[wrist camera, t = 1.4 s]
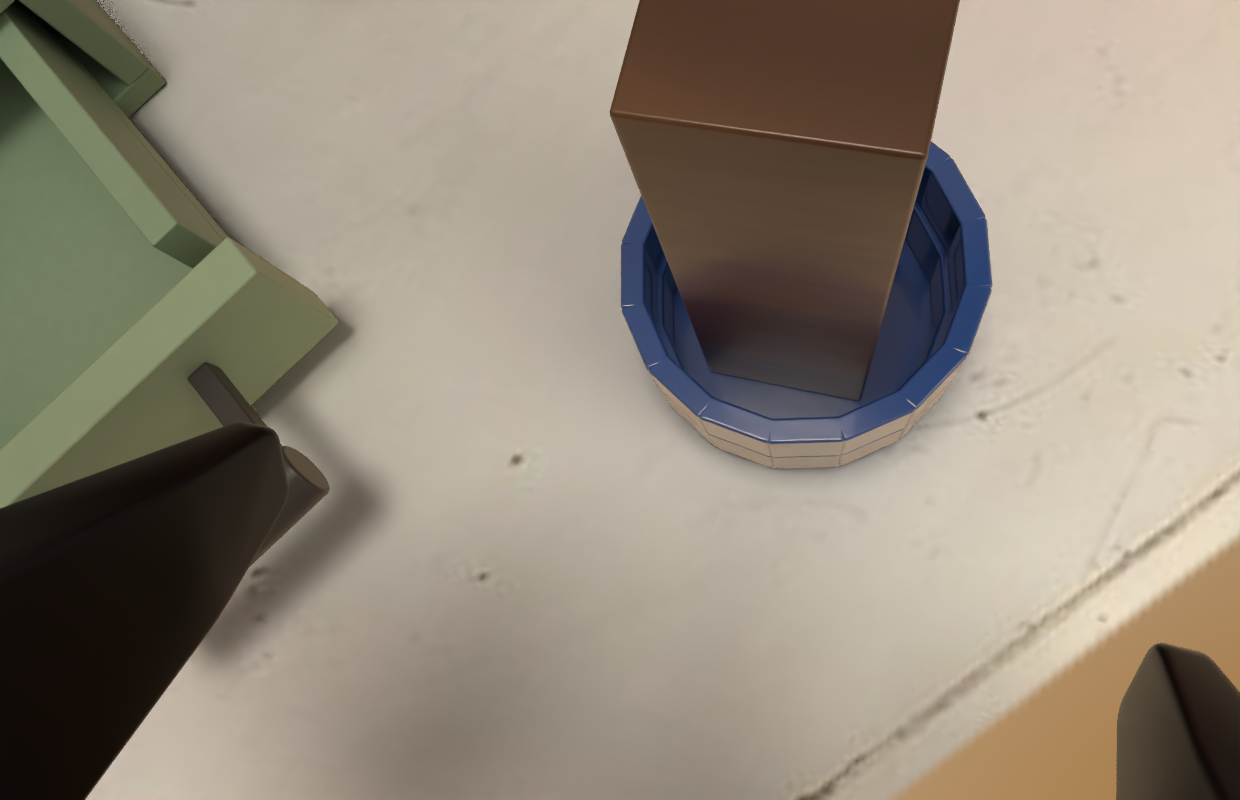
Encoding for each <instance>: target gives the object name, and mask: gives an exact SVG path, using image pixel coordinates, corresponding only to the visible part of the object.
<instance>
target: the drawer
mask: <svg viewBox="0 0 1240 800" xmlns="http://www.w3.org/2000/svg"><path fill="white" fill-rule="evenodd" d="M337 324H338V319H337V318H336V317H335V316H334V315H333V314H332V312H331V311H330V310H329V309H328V308H327V307H326V306H325V304H324V303H323V302H322V301H321V300H320V299H319V297H318V296H317V295H316V294H315V293H314V292H313V291H311V290H310V289H308V288H307V287H305V286H304V285H302V284H301V283H299V282H298V281H296V280H294V279H293V278H291V277H290V276H288V275H287V274H285V273H284V272H282V271H281V270H279V269H278V268H276V267H274V266H273V265H271V264H270V263H268V262H267V261H265V260H264V259H262V258H261V257H259V256H257V255H256V254H254V253H253V252H251V251H250V250H248V249H247V248H245V247H244V246H242V245H241V244H239V243H237V242H236V241H234V240H233V239H231V238H229V237H228V236H227V235H226V234H225V232H224V231H223V230H222V229H221V228H220V226H219V225H218V224H217V223H216V222H215V220H214V219H213V218H212V217H211V216H210V215H209V213H208V212H207V211H206V210H205V209H204V207H203V206H202V205H201V204H200V203H199V202H198V200H197V199H196V198H195V197H194V196H193V194H192V193H191V192H190V191H189V190H188V189H187V187H186V186H185V185H184V184H183V183H182V181H181V180H180V179H179V178H178V177H177V175H176V174H175V173H174V172H173V171H172V170H171V168H170V167H169V166H168V165H167V164H166V162H165V161H164V160H163V159H162V158H161V157H160V155H159V154H158V153H157V152H156V151H155V149H154V148H153V147H152V146H151V145H150V144H149V142H148V141H147V140H146V139H145V138H144V136H143V135H142V134H141V133H140V132H139V130H138V129H137V128H136V127H135V126H134V125H133V123H132V122H131V121H130V120H129V119H128V117H127V116H126V115H125V114H124V113H123V112H122V110H121V109H120V108H119V107H118V106H117V104H116V103H115V102H114V101H113V100H112V98H111V97H110V96H109V95H108V94H107V93H106V91H105V90H104V89H103V88H102V87H101V85H100V84H99V83H98V82H97V81H96V80H95V78H94V77H93V76H92V75H91V74H90V72H89V71H88V70H87V69H86V68H85V67H84V65H83V64H82V63H81V62H80V61H79V59H78V58H77V57H76V56H75V55H74V53H73V52H72V51H71V50H70V49H69V48H68V46H67V45H66V44H65V43H64V42H63V40H62V39H61V38H60V37H59V36H58V35H57V33H56V32H55V31H54V30H53V29H52V27H51V26H50V25H49V24H48V23H47V22H45V21H44V20H43V19H42V18H40V17H39V16H38V15H36V14H35V13H34V12H33V11H31V10H30V9H29V8H27V7H26V6H25V5H23V4H22V3H21V2H20V1H18V0H15V1H14V2H13V3H12V4H10V5H9V6H8V7H7V8H6V9H5V10H4V11H3V12H2V13H1V14H0V508H3V507H5V506H8V505H11V504H13V503H16V502H19V501H22V500H24V499H27V498H30V497H33V496H35V495H38V494H41V493H43V492H46V491H49V490H52V489H54V488H57V487H60V486H63V485H65V484H68V483H71V482H73V481H76V480H79V479H82V478H84V477H87V476H90V475H93V474H95V473H98V472H101V471H104V470H106V469H109V468H112V467H114V466H117V465H120V464H123V463H125V462H128V461H131V460H134V459H136V458H139V457H142V456H144V455H147V454H150V453H153V452H155V451H158V450H161V449H164V448H166V447H169V446H172V445H174V444H177V443H180V442H183V441H185V440H188V439H191V438H194V437H196V436H199V435H202V434H204V433H207V432H210V431H213V430H215V429H218V428H221V427H224V426H226V425H229V424H232V423H235V422H249V423H253V424H257V425H261V426H265V427H267V426H266V425H265V423H264V422H263V421H262V420H261V418H260V417H259V416H258V415H257V413H256V412H255V411H254V410H253V408H252V407H251V405H252V404H253V403H254V402H255V401H256V400H257V399H258V398H260V397H261V396H262V395H263V394H264V393H265V392H266V391H267V390H268V389H269V388H270V387H271V386H272V385H273V384H274V383H275V382H277V381H278V380H279V379H280V378H281V377H282V376H283V375H284V374H285V373H286V372H287V371H288V370H289V369H290V368H291V367H292V366H294V365H295V364H296V363H297V362H298V361H299V360H300V359H301V358H302V357H303V356H304V355H305V354H306V353H307V352H308V351H309V350H311V349H312V348H313V347H314V346H315V345H316V344H317V343H318V342H319V341H320V340H321V339H322V338H323V337H324V336H325V335H326V334H328V333H329V332H330V331H331V330H332V329H333V328H334V327H335V326H336V325H337ZM280 445H281V444H280ZM281 450H282V454H283V459H284V464H285V469H286V474H287V479H288V485H289V490H288V497H287V501H286V504H285V506H284V508H283V510H282V512H281V513H280V515H279V517H278V518H277V520H276V522H275V524H274V525H273V527H272V529H271V530H270V532H269V534H268V535H267V537H266V539H265V541H264V542H263V544H262V546H261V547H260V549H259V551H258V552H257V554H256V556H255V558H254V559H253V561H252V563H251V564H250V566H251V565H252V564H253V563H254V562H255V561H256V560H257V559H258V558H260V557H261V556H262V555H263V554H264V553H265V552H266V551H267V550H268V549H269V548H270V547H271V546H272V545H273V544H274V543H275V542H276V541H278V540H279V539H280V538H281V537H282V536H283V535H284V534H285V533H286V532H287V531H288V530H289V529H290V528H291V527H292V526H293V525H294V524H296V523H297V522H298V521H299V520H300V519H301V518H302V517H303V516H304V515H305V514H306V513H307V512H308V511H309V510H310V509H311V508H312V507H314V506H315V505H316V504H317V503H318V502H319V501H320V500H321V499H322V498H323V497H324V496H325V495H326V494H327V493H328V491H329V484H328V482H327V480H326V478H325V477H324V475H323V474H322V473H321V471H320V470H319V469H318V468H317V467H316V466H315V465H314V464H313V463H312V462H311V461H310V460H309V459H308V458H307V457H306V456H304V455H303V454H302V453H300V452H299V451H297V450H295V449H293V448H291V447H288V446H282V445H281ZM250 566H249V567H250Z"/></svg>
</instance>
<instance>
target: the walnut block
mask: <svg viewBox="0 0 1240 800" xmlns="http://www.w3.org/2000/svg"><path fill="white" fill-rule="evenodd" d="M959 2H960V0H640V1H639V5H638V9H637V12H636V16H635V20H634V23H633V27H632V31H631V35H630V38H629V42H628V46H627V50H626V53H625V57H624V61H623V64H622V68H621V72H620V76H619V79H618V83H617V87H616V90H615V94H614V98H613V102H612V105H611V109H610V116H611V119H612V121H613V124H614V126H615V129H616V131H617V134H618V136H619V139H620V142H621V144H622V147H623V149H624V152H625V154H626V157H627V159H628V162H629V165H630V167H631V170H632V172H633V175H634V177H635V180H636V183H637V185H638V188H639V190H640V193H641V195H642V198H643V200H644V203H645V206H646V208H647V211H648V213H649V216H650V218H651V221H652V223H653V226H654V229H655V231H656V234H657V236H658V239H659V241H660V244H661V247H662V249H663V252H664V254H665V257H666V259H667V262H668V264H669V267H670V270H671V272H672V275H673V277H674V280H675V282H676V285H677V287H678V290H679V293H680V295H681V298H682V300H683V303H684V305H685V308H686V310H687V313H688V316H689V318H690V321H691V323H692V326H693V328H694V331H695V334H696V336H697V339H698V341H699V344H700V346H701V349H702V351H703V354H704V357H705V359H706V362H707V364H708V367H709V369H710V371H711V372H716V373H721V374H726V375H731V376H736V377H741V378H746V379H751V380H756V381H761V382H766V383H771V384H776V385H781V386H786V387H791V388H796V389H801V390H806V391H811V392H816V393H821V394H826V395H831V396H836V397H841V398H846V399H851V400H856V401H860V400H861V398H862V394H863V390H864V387H865V383H866V379H867V376H868V372H869V368H870V365H871V361H872V358H873V354H874V350H875V347H876V343H877V339H878V336H879V332H880V328H881V325H882V321H883V317H884V314H885V310H886V306H887V303H888V299H889V295H890V292H891V288H892V285H893V281H894V277H895V274H896V270H897V266H898V263H899V259H900V255H901V252H902V248H903V244H904V241H905V237H906V233H907V230H908V226H909V222H910V219H911V215H912V212H913V208H914V204H915V201H916V197H917V193H918V190H919V186H920V182H921V179H922V175H923V171H924V168H925V164H926V160H927V157H928V152H929V147H930V143H931V138H932V133H933V128H934V123H935V118H936V113H937V109H938V104H939V99H940V94H941V89H942V84H943V79H944V75H945V70H946V65H947V60H948V55H949V50H950V45H951V41H952V36H953V31H954V26H955V21H956V16H957V11H958V7H959Z"/></svg>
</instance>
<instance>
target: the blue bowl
mask: <svg viewBox="0 0 1240 800" xmlns="http://www.w3.org/2000/svg"><path fill="white" fill-rule="evenodd" d="M991 288H992V275H991V263H990V252H989V240H988V229H987V220H986V219H985V214H984V213H983V211H982V209H981V207H980V206H979V204H978V202H977V200H976V199H975V197H974V195H973V193H972V192H971V190H970V188H969V186H968V185H967V183H966V181H965V179H964V178H963V176H962V174H961V172H960V171H959V169H958V167H957V165H956V164H955V162H954V160H953V159H952V158H951V157H950V156H949V155H948V154H947V153H946V152H944V151H943V150H942V149H940V148H939V147H938V146H936V145H935V144H934V143H932V142H931V143H930V147H929V152H928V157H927V160H926V164H925V168H924V171H923V175H922V179H921V182H920V186H919V190H918V193H917V197H916V201H915V204H914V208H913V212H912V215H911V219H910V222H909V226H908V230H907V233H906V237H905V241H904V244H903V248H902V252H901V255H900V259H899V263H898V266H897V270H896V274H895V277H894V281H893V285H892V288H891V292H890V295H889V299H888V303H887V306H886V310H885V314H884V317H883V321H882V325H881V328H880V332H879V336H878V339H877V343H876V347H875V350H874V354H873V358H872V361H871V365H870V368H869V372H868V376H867V379H866V383H865V387H864V390H863V394H862V398H861V400H860V401H856V400H851V399H846V398H841V397H836V396H831V395H826V394H821V393H816V392H811V391H806V390H801V389H796V388H791V387H786V386H781V385H776V384H771V383H766V382H761V381H756V380H751V379H746V378H741V377H736V376H731V375H726V374H721V373H716V372H711V371H710V369H709V367H708V364H707V362H706V359H705V357H704V354H703V351H702V349H701V346H700V344H699V341H698V339H697V336H696V334H695V331H694V328H693V326H692V323H691V321H690V318H689V316H688V313H687V310H686V308H685V305H684V303H683V300H682V298H681V295H680V293H679V290H678V287H677V285H676V282H675V280H674V277H673V275H672V272H671V270H670V267H669V264H668V262H667V259H666V257H665V254H664V252H663V249H662V247H661V244H660V241H659V239H658V236H657V234H656V231H655V229H654V226H653V223H652V221H651V218H650V216H649V213H648V211H647V208H646V206H645V203H644V200H643V198H642V195H641V197H640V199H639V202H638V204H637V207H636V209H635V211H634V214H633V216H632V218H631V221H630V223H629V226H628V228H627V230H626V233H625V235H624V237H623V240H622V245H621V308H622V313H623V315H624V318H625V320H626V322H627V324H628V327H629V329H630V331H631V334H632V336H633V338H634V341H635V343H636V345H637V348H638V350H639V352H640V354H641V357H642V359H643V361H644V364H645V366H646V368H647V370H648V371H649V373H650V374H651V376H652V377H653V379H654V381H655V382H656V384H657V385H658V386H659V388H660V390H661V391H662V393H663V394H664V396H665V397H666V399H667V400H668V402H669V403H670V404H671V406H672V407H673V408H674V409H675V410H676V411H677V412H678V413H679V414H680V415H681V416H682V417H683V418H684V419H685V420H687V421H688V422H689V423H690V424H691V425H692V426H693V427H694V428H695V429H696V430H697V431H698V432H699V433H700V434H701V435H702V436H704V437H705V438H706V439H707V440H708V441H709V442H710V443H711V444H713V445H715V446H716V447H717V448H719V449H722V450H725V451H727V452H730V453H733V454H735V455H738V456H741V457H743V458H746V459H749V460H751V461H754V462H757V463H759V464H762V465H765V466H767V467H770V468H773V467H774V468H777V469H780V468H821V467H836V466H838V465H839V466H842V465H845V464H847V463H849V462H851V461H854V460H856V459H858V458H861V457H863V456H865V455H868V454H870V453H872V452H875V451H877V450H879V449H881V448H884V447H886V446H888V445H891V444H893V443H895V442H896V441H897V440H899V439H901V438H902V437H903V436H904V435H905V434H906V433H907V432H908V431H909V430H910V429H911V428H912V427H913V426H914V425H915V424H916V422H917V421H918V420H919V419H920V418H921V417H922V416H923V415H924V414H925V413H926V412H927V411H928V410H929V409H930V408H931V407H932V406H933V405H934V404H935V403H936V402H937V401H938V400H939V399H940V397H941V396H942V395H943V393H944V392H945V390H946V388H947V387H948V385H949V384H950V382H951V381H952V379H953V378H954V376H955V375H956V373H957V372H958V370H959V368H960V367H961V365H962V364H963V362H964V361H965V359H966V357H967V356H968V354H969V352H970V349H971V347H972V344H973V341H974V338H975V336H976V333H977V330H978V327H979V325H980V322H981V319H982V316H983V314H984V311H985V308H986V305H987V303H988V300H989V297H990V294H991V291H992V290H991Z"/></svg>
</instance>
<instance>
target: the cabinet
mask: <svg viewBox="0 0 1240 800" xmlns="http://www.w3.org/2000/svg"><path fill="white" fill-rule="evenodd" d="M14 1H15V0H0V14H1V13H2V12H3V11H4V10H5V9H6V8H7V7H8V6H9V5H10V4H12V3H13V2H14ZM18 1H20V2H21V3H22V4H23V5H25V6H26V7H27V8H29V9H30V10H31V11H33V12H34V13H35V14H36V15H38V16H39V17H40V18H42V19H43V20H44V21H45V22H47V23H48V24H49V25H50V26H51V27H52V29H53V30H54V31H55V32H56V33H57V35H58V36H59V37H60V38H61V39H62V40H63V42H64V43H65V44H66V45H67V46H68V48H69V49H70V50H71V51H72V52H73V53H74V55H75V56H76V57H77V58H78V59H79V61H80V62H81V63H82V64H83V65H84V67H85V68H86V69H87V70H88V71H89V72H90V74H91V75H92V76H93V77H94V78H95V80H96V81H97V82H98V83H99V84H100V85H101V87H102V88H103V89H104V90H105V91H106V93H107V94H108V95H109V96H110V97H111V98H112V100H113V101H114V102H115V103H116V104H117V106H118V107H119V108H120V109H121V110H122V112H123V113H124V114H125V115H126V116H127V117H128V118H129V117H130V116H131V115H132V114H133V113H134V112H135V111H136V110H138V109H139V108H140V107H141V106H142V105H143V104H144V103H145V102H146V101H147V100H148V99H149V98H150V97H151V96H153V95H154V94H155V93H156V92H157V91H158V90H159V89H160V88H161V87H162V86H163V85H164V84H165V83H166V82H165V79H164V78H163V77H162V76H161V75H160V74H159V73H158V71H157V70H156V69H155V68H154V67H153V66H152V65H151V63H150V62H149V61H148V60H147V59H146V58H145V57H144V56H143V54H142V53H141V52H140V51H139V50H138V49H137V48H136V46H135V45H134V44H133V43H132V42H131V41H130V40H129V38H128V37H127V36H126V35H125V34H124V33H123V32H122V30H121V29H120V28H119V27H118V26H117V25H116V24H115V23H114V21H113V20H112V19H111V18H110V17H109V16H108V15H107V13H106V12H105V11H104V10H103V9H102V8H101V7H100V5H99V4H98V3H97V2H96V1H95V0H18Z"/></svg>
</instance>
